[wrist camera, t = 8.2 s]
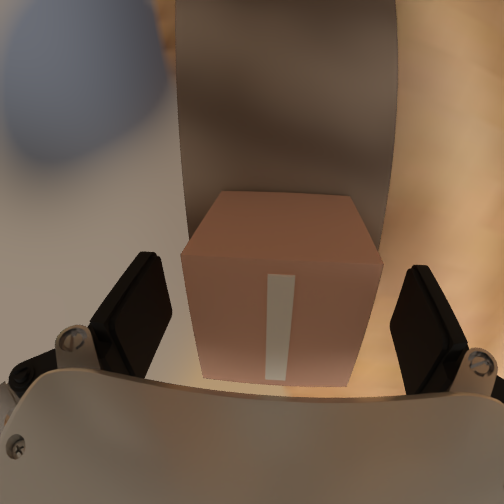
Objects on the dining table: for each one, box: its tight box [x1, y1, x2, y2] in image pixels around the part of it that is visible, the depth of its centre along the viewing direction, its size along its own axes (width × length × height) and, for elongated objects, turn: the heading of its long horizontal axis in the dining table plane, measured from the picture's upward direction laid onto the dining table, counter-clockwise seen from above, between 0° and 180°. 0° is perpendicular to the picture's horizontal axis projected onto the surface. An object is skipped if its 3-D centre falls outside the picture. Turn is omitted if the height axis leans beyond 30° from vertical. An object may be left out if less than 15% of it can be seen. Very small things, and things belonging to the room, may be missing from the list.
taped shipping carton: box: [181, 191, 384, 387], centre depth 13 cm, size 6×6×6 cm
